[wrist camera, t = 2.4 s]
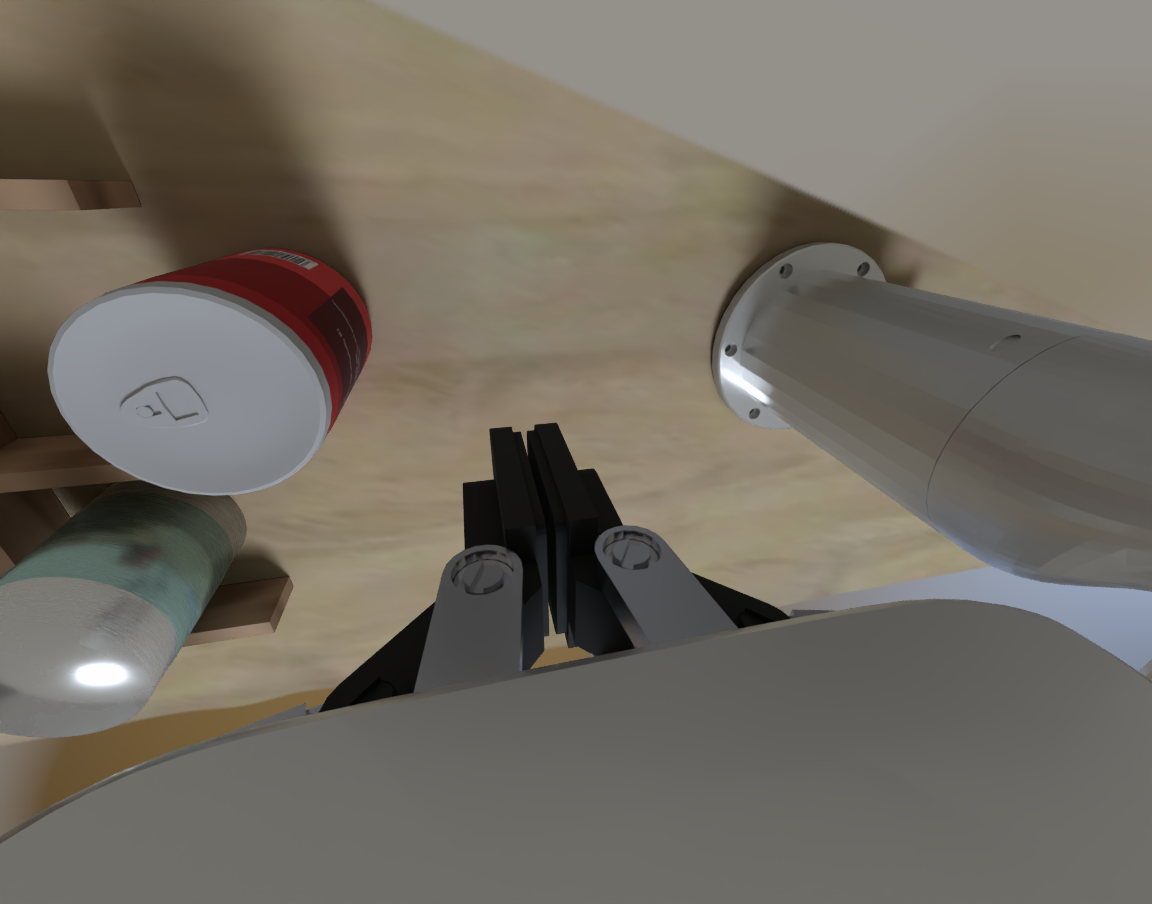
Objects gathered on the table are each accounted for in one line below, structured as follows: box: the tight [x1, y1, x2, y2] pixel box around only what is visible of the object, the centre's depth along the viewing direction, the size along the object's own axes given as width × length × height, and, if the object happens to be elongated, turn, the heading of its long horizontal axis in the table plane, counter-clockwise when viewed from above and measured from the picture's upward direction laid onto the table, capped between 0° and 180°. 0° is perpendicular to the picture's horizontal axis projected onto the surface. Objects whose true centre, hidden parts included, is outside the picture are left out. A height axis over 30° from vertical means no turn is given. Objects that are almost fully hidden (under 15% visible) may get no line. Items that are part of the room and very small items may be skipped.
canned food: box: [47, 248, 372, 496], centre depth 20 cm, size 8×8×11 cm
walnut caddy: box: [0, 179, 293, 647], centre depth 24 cm, size 11×25×4 cm, turn 179°
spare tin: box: [0, 480, 247, 737], centre depth 24 cm, size 8×8×11 cm
